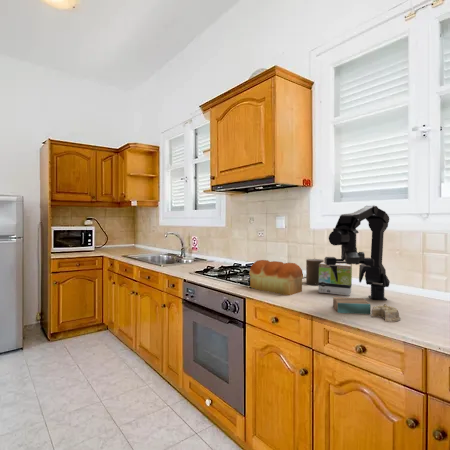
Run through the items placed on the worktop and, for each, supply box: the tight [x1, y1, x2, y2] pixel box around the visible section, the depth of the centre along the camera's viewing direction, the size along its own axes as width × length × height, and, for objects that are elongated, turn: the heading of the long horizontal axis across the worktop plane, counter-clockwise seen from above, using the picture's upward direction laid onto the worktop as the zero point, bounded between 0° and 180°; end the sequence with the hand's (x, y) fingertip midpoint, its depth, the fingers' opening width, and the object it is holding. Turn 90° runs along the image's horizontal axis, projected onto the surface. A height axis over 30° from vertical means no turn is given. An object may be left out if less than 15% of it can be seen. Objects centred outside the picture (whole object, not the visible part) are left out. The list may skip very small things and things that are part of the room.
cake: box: [370, 303, 401, 322], centre depth 119 cm, size 10×10×5 cm
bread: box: [248, 259, 304, 296], centre depth 166 cm, size 25×12×15 cm, turn 47°
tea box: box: [317, 262, 353, 297], centre depth 161 cm, size 15×10×15 cm
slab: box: [332, 296, 372, 315], centre depth 129 cm, size 4×12×10 cm
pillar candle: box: [305, 258, 324, 286], centre depth 183 cm, size 10×10×15 cm
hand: (348, 282), depth 133 cm, fingers open, 9 cm apart
